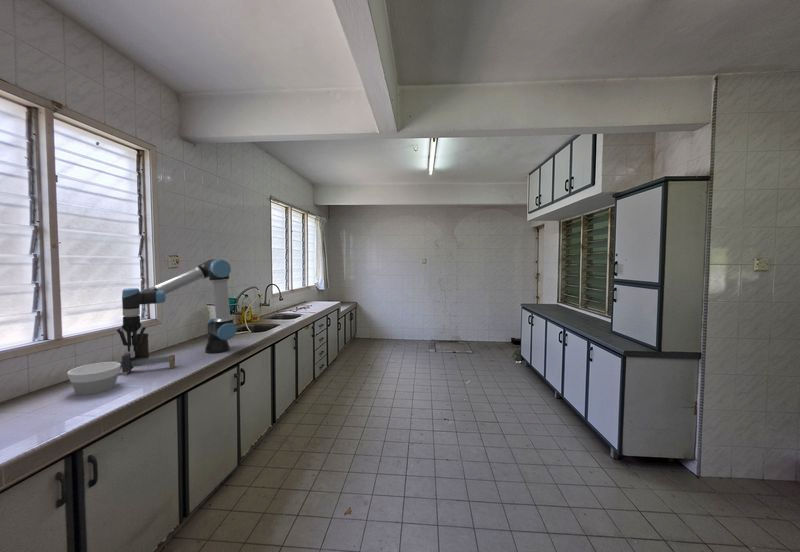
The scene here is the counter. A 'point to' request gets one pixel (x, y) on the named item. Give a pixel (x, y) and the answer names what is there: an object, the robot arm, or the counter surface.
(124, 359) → the collar
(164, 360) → the bar
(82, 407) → the counter surface
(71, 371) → the bowl
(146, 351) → the container
